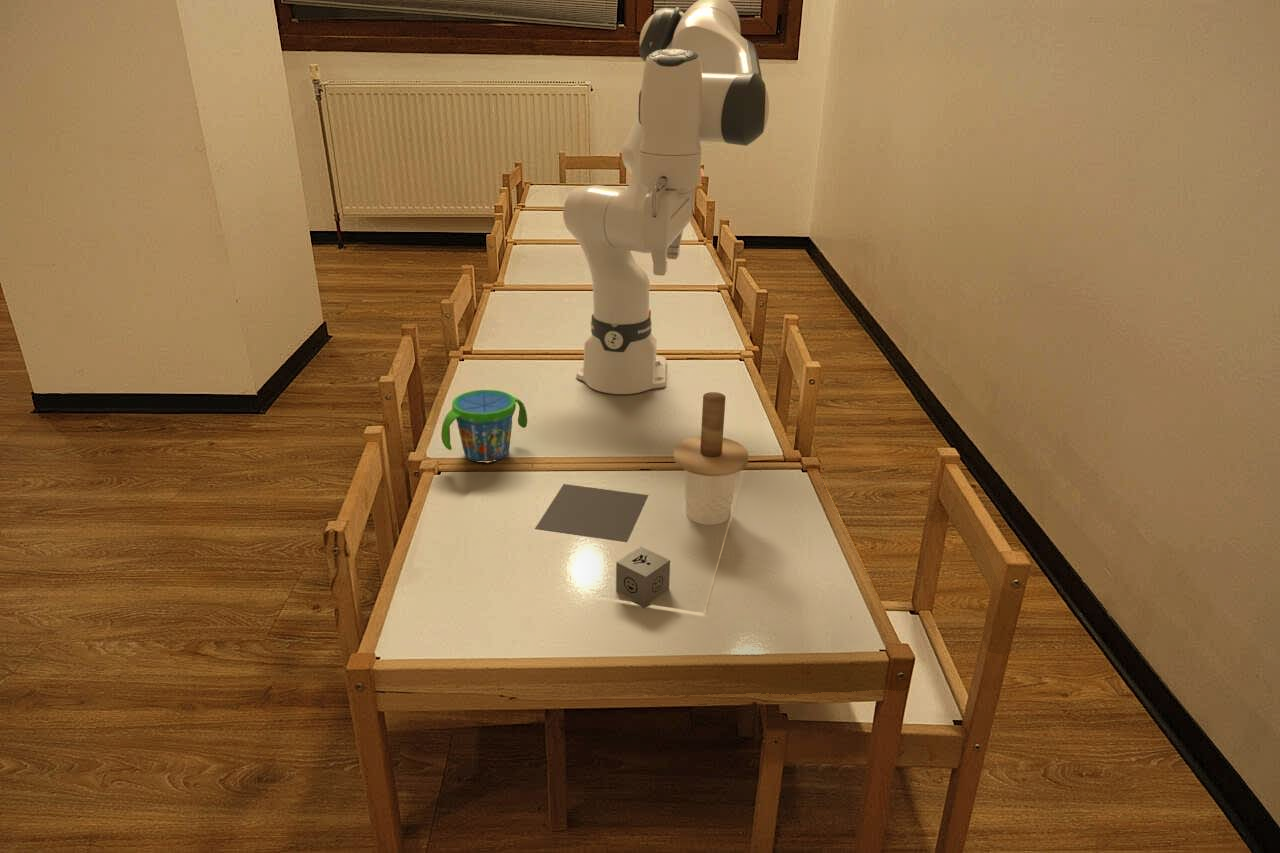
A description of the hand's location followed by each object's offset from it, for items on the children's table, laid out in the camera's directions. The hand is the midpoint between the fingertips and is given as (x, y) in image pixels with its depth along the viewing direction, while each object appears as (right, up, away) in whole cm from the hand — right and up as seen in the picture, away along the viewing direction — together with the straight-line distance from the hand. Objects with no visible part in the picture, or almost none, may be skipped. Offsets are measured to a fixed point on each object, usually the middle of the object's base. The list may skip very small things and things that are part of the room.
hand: (666, 266), depth 135 cm
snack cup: (-30, -29, +19) cm, 46 cm away
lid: (+7, -29, -2) cm, 30 cm away
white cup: (+6, -38, +3) cm, 39 cm away
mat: (-11, -37, +2) cm, 39 cm away
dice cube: (-4, -46, -15) cm, 49 cm away
